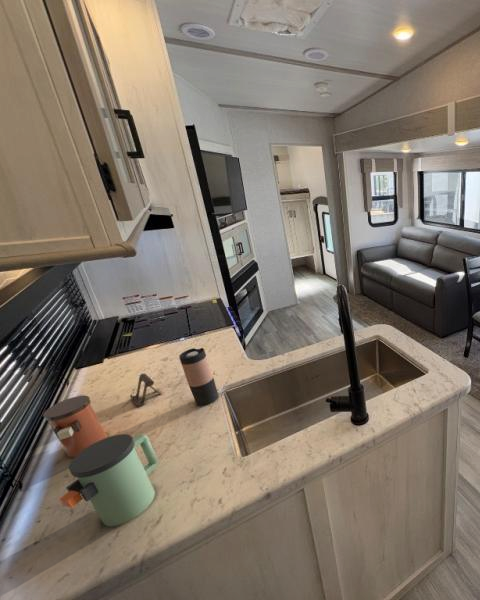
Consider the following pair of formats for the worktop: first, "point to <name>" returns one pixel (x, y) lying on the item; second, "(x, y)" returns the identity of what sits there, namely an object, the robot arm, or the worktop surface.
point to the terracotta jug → (76, 423)
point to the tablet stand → (148, 383)
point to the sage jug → (115, 477)
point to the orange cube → (71, 498)
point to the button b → (65, 433)
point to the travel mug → (199, 376)
